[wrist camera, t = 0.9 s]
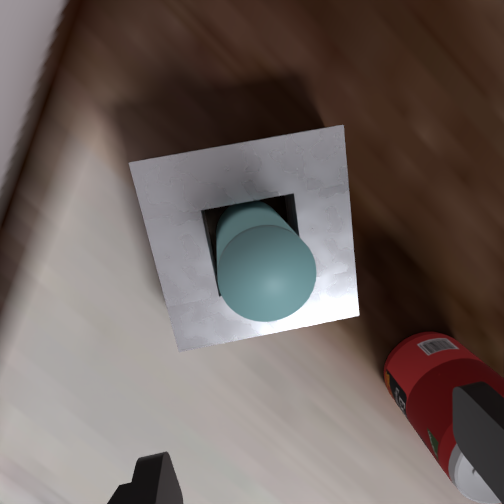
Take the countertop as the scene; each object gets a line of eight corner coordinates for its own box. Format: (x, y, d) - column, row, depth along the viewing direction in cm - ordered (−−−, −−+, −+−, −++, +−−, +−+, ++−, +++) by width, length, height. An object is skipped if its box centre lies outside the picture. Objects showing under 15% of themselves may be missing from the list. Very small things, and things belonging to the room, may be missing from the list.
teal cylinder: (277, 193, 28) (310, 219, 19) (286, 257, 30) (321, 311, 20) (210, 206, 28) (208, 238, 18) (223, 270, 29) (227, 330, 20)
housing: (325, 127, 27) (343, 124, 23) (341, 294, 31) (359, 315, 27) (140, 159, 26) (128, 162, 22) (183, 326, 31) (178, 352, 27)
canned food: (364, 372, 34) (431, 475, 23) (425, 312, 33) (525, 392, 22) (415, 411, 36) (498, 522, 25) (474, 356, 35) (587, 448, 24)
